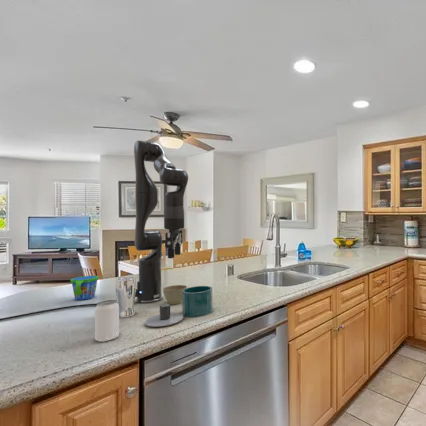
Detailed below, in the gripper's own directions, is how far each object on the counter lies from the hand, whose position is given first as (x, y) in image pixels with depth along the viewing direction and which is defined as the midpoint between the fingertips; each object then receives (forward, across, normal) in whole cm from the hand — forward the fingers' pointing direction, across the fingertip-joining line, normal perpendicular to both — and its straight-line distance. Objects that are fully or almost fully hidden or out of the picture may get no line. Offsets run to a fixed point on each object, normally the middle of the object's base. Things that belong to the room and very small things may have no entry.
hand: (174, 256), depth 121 cm
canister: (+24, 0, +9) cm, 25 cm away
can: (+24, +22, -15) cm, 35 cm away
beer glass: (+24, -2, -19) cm, 31 cm away
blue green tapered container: (+25, -31, -50) cm, 64 cm away
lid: (+23, +9, -1) cm, 25 cm away
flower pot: (+24, -15, -4) cm, 28 cm away
